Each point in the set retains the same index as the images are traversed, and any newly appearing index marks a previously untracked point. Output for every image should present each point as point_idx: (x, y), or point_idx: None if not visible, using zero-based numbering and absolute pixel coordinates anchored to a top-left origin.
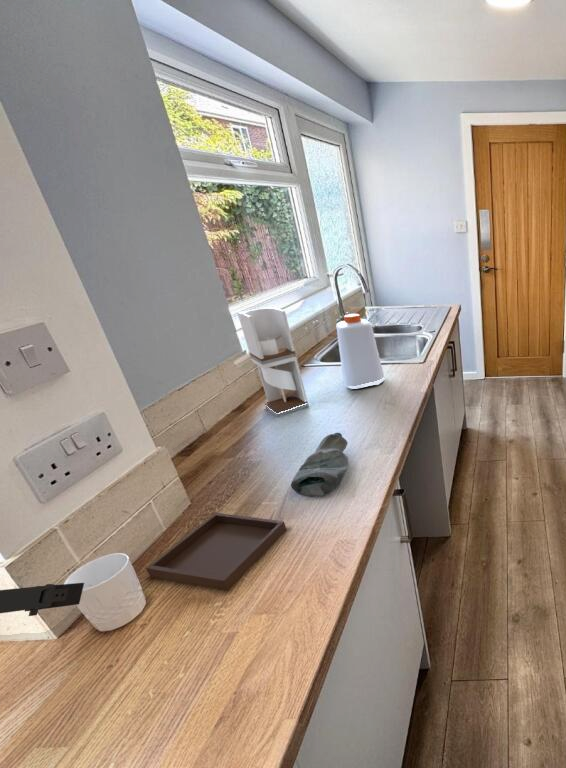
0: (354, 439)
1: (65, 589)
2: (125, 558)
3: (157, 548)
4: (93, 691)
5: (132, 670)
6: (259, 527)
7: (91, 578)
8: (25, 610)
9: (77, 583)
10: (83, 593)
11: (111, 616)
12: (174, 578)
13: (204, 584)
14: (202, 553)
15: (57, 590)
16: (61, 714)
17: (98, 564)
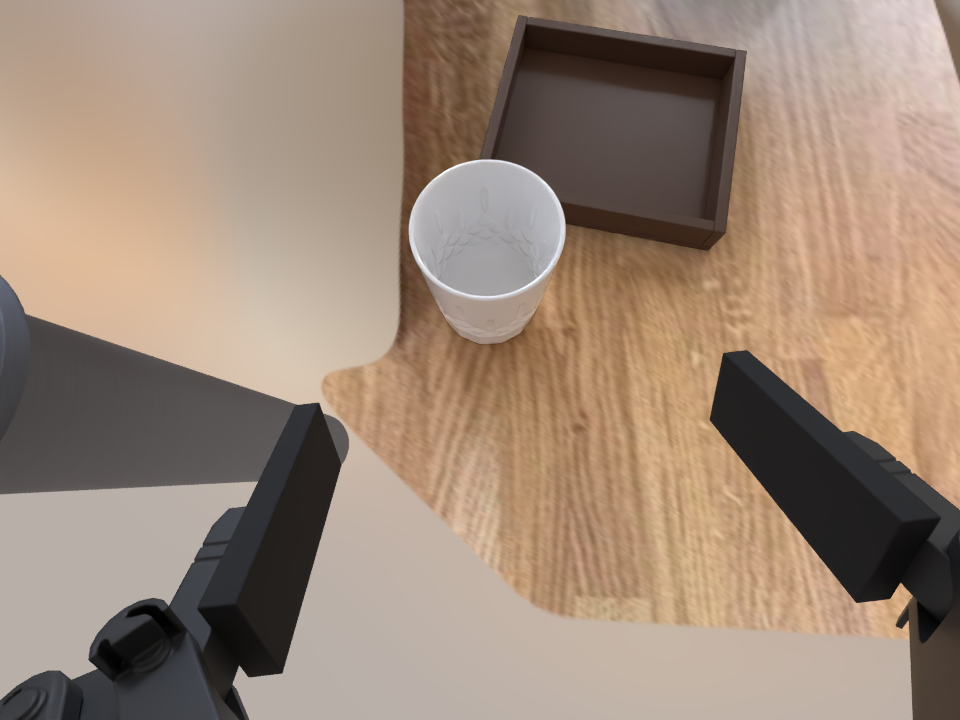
0: None
1: (883, 450)
2: (516, 177)
3: (418, 122)
4: (591, 484)
5: (640, 441)
6: (656, 68)
7: (429, 233)
8: (862, 600)
9: (764, 367)
10: (509, 301)
11: (520, 325)
12: None
13: (645, 233)
14: (560, 142)
15: (922, 483)
16: (566, 530)
17: (440, 194)
